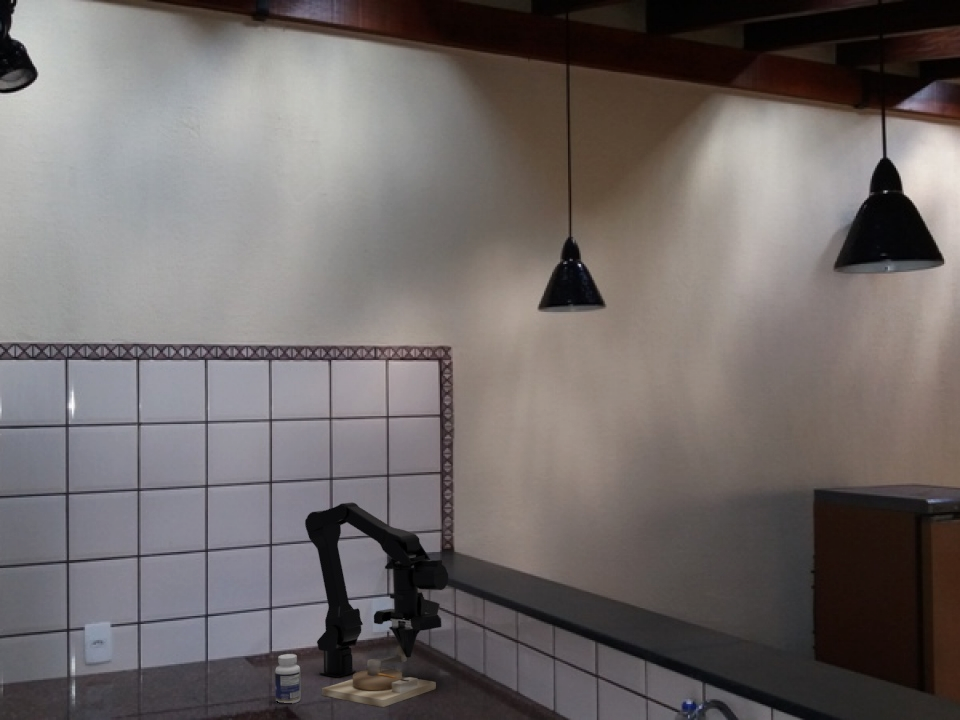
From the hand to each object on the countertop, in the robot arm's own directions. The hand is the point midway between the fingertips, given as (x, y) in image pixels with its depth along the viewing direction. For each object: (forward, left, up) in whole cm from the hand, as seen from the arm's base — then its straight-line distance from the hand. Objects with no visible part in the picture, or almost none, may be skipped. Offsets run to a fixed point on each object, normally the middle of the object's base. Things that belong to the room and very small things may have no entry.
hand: (408, 657), depth 244 cm
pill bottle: (-13, -25, -7) cm, 29 cm away
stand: (-1, -9, -6) cm, 11 cm away
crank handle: (-2, -6, -4) cm, 8 cm away
